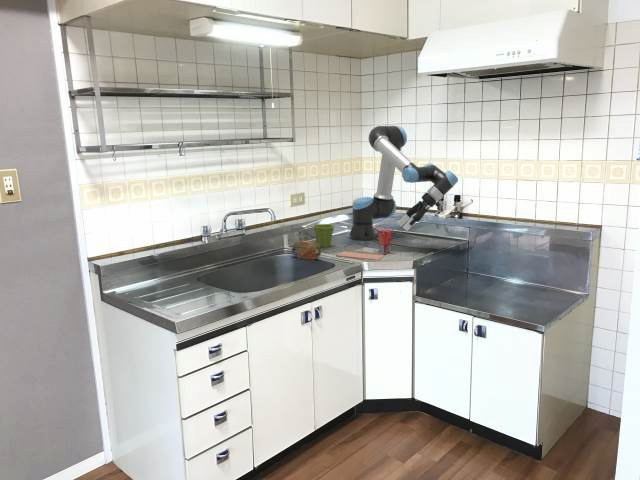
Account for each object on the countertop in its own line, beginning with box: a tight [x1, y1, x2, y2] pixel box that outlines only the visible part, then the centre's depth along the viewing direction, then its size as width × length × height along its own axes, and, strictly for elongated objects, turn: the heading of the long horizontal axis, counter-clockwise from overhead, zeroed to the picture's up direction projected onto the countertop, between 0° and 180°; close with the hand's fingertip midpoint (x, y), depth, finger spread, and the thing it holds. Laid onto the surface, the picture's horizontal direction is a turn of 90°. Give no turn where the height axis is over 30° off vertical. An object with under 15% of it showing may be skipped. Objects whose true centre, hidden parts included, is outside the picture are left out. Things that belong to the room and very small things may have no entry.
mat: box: [335, 250, 386, 261], centre depth 261 cm, size 10×22×1 cm, turn 64°
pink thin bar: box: [346, 250, 388, 256], centre depth 267 cm, size 2×22×1 cm, turn 64°
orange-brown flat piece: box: [292, 240, 322, 261], centre depth 257 cm, size 15×3×8 cm, turn 62°
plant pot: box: [312, 223, 335, 248], centre depth 284 cm, size 12×12×11 cm
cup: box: [374, 227, 394, 254], centre depth 269 cm, size 9×8×12 cm
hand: (401, 227), depth 267 cm, fingers open, 13 cm apart
